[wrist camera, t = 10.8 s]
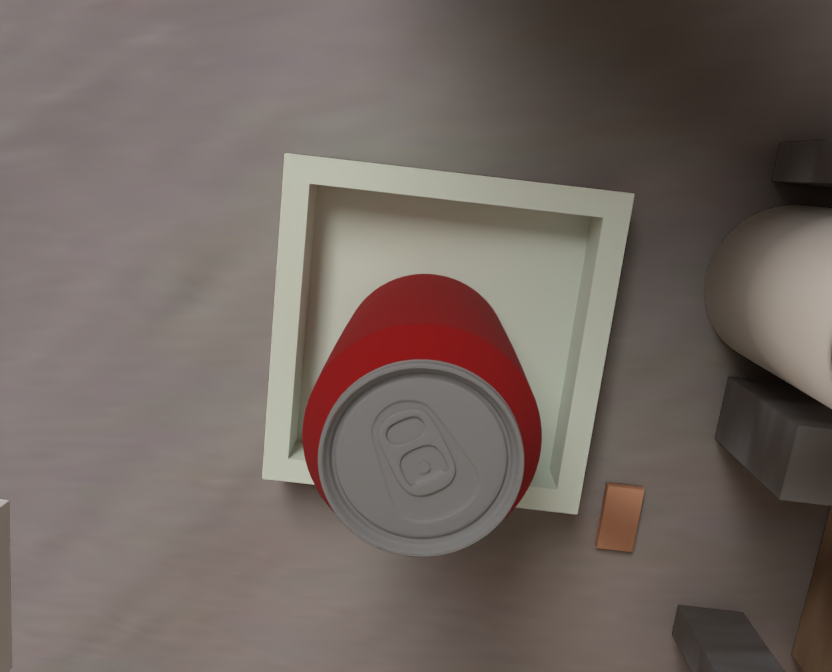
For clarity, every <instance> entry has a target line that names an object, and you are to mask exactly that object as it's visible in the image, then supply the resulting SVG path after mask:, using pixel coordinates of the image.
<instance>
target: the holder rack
mask: <svg viewBox="0 0 832 672" xmlns="http://www.w3.org/2000/svg"><path fill="white" fill-rule="evenodd" d="M772 181H776V182H785V183H793V184H802V185H811V186H819V187H828V188H832V138H830V139H817V140H804V141H791V142H780V144H779V149H778V153H777V158H776V162H775V167H774V171H773V176H772ZM715 439H716V440H717V441H718V442H719V443H720V444H721V445H722V446H723V447H725V448H726V449H727V450H728V451H729V452H730V453H731V454H732V455H733V456H734V457H735V458H736V459H737V460H738V461H739V462H740V463H741V464H742V465H743V466H745V467H746V468H747V469H748V470H749V471H750V472H751V473H752V474H753V475H754V476H755V477H756V478H757V479H758V480H759V481H760V482H761V483H762V484H763V485H765V486H766V487H767V488H768V489H769V490H770V491H771V492H772V493H773V494H774V495H775V496H776V497H777V498H778V499H779V500H785V501H793V502H802V503H811V504H820V505H829V506H831V507H830V511H829V515H828V519H827V522H826V526H825V530H824V534H823V538H822V541H821V545H820V549H819V553H818V556H817V560H816V564H815V568H814V572H813V575H812V579H811V583H810V587H809V590H808V594H807V598H806V602H805V606H804V609H803V613H802V617H801V621H800V624H799V628H798V632H797V636H796V640H795V643H794V647H793V651H792V656H793V658H794V659H795V660H796V662H797V663H798V664H799V666H800V667H801V668H802V670H803V671H804V672H832V409H831V408H829V407H827V406H826V405H824V404H822V403H821V402H819V401H817V400H816V399H814V398H812V397H811V396H809V395H807V394H806V393H804V392H802V391H801V390H799V389H797V388H796V387H794V386H792V385H791V384H787V383H779V382H770V381H761V380H752V379H744V378H735V377H728V381H727V385H726V390H725V394H724V399H723V403H722V408H721V413H720V417H719V422H718V426H717V431H716V435H715ZM644 492H645V490H644V488H643V487H642V486H635V485H626V484H617V483H608V482H606V487H605V492H604V497H603V503H602V508H601V514H600V519H599V524H598V530H597V535H596V540H595V545H596V547H597V548H601V549H610V550H618V551H627V552H633V547H634V542H635V537H636V532H637V527H638V522H639V517H640V512H641V507H642V502H643V497H644ZM672 635H673V637H674V639H675V641H676V642H677V644H678V646H679V648H680V650H681V652H682V654H683V656H684V658H685V660H686V662H687V664H688V666H689V668H690V670H691V671H692V672H784V670H783V669H782V667H781V666H780V665H779V663H778V662H777V660H776V659H775V658H774V656H773V655H772V653H771V652H770V650H769V649H768V648H767V646H766V645H765V643H764V642H763V640H762V639H761V638H760V636H759V635H758V633H757V632H756V630H755V629H754V628H753V626H752V625H751V623H750V622H749V620H748V619H747V618H746V616H745V615H744V613H743V612H735V611H726V610H717V609H708V608H700V607H691V606H682V605H678V608H677V613H676V617H675V622H674V626H673V631H672Z"/></svg>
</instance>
